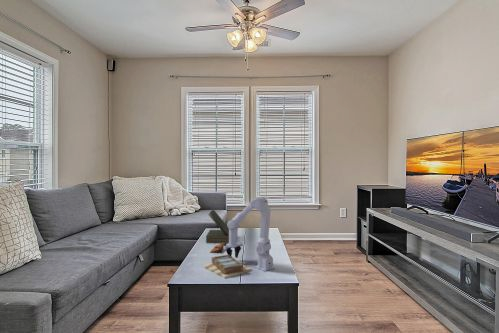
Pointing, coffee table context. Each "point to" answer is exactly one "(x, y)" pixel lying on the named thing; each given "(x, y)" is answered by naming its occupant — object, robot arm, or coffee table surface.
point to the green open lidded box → (218, 235)
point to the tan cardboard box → (227, 264)
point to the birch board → (218, 272)
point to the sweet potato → (218, 248)
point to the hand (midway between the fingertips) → (233, 258)
